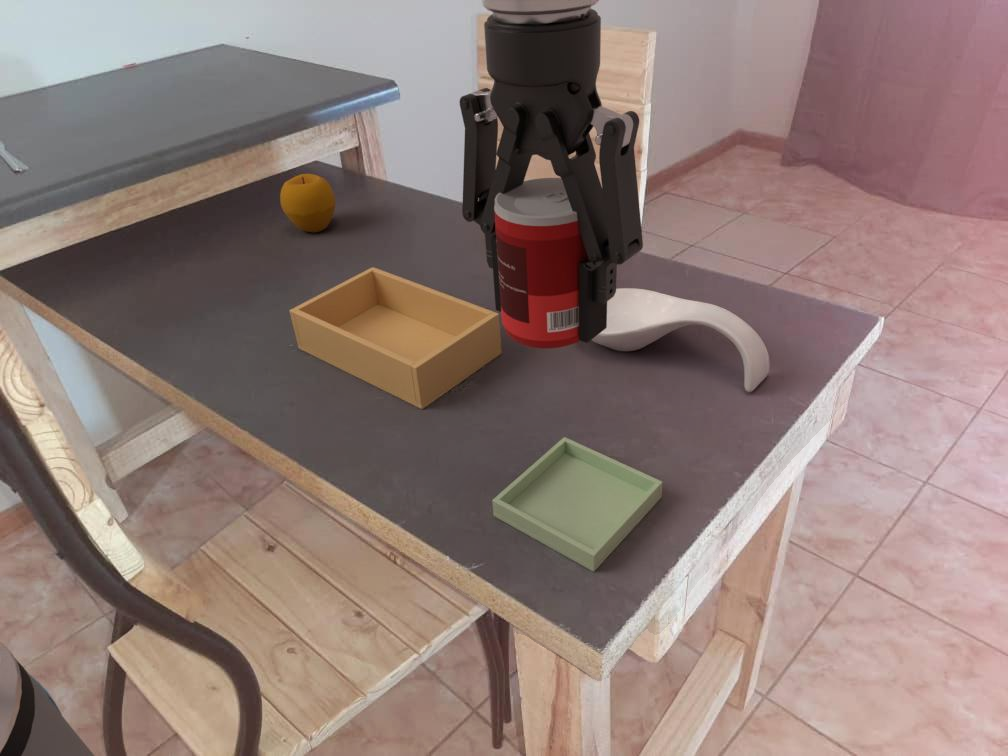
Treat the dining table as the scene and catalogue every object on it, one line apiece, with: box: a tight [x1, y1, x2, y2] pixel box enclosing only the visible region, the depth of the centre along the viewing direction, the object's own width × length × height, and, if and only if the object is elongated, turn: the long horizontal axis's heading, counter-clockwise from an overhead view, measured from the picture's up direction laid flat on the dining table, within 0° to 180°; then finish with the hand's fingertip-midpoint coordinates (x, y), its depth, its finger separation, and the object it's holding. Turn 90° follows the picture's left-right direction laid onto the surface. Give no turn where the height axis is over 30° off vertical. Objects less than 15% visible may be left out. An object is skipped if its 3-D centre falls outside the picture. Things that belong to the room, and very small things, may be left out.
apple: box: [279, 173, 336, 233], centre depth 124 cm, size 8×8×9 cm
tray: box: [491, 436, 663, 573], centre depth 70 cm, size 11×11×2 cm
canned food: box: [494, 177, 588, 349], centre depth 60 cm, size 8×8×11 cm
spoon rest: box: [591, 287, 771, 393], centre depth 89 cm, size 24×12×7 cm, turn 51°
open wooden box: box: [289, 266, 502, 410], centre depth 93 cm, size 22×14×6 cm, turn 50°
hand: (549, 318), depth 63 cm, fingers closed on canned food, 8 cm apart
